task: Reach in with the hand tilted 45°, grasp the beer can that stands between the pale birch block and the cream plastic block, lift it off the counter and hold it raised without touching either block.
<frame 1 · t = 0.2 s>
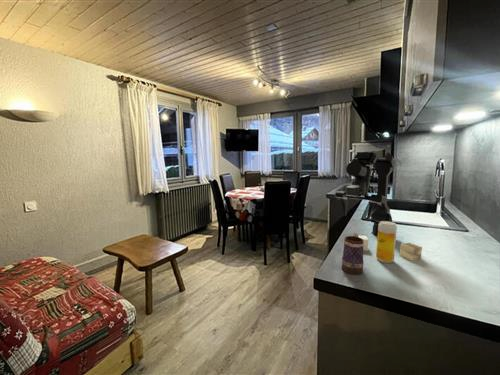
hand: (355, 217, 95), 15 cm above the counter, tool pointing down, fingers open, 9 cm apart
cream plastic block: (360, 248, 102), on the counter
mug: (352, 269, 83), on the counter
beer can: (384, 260, 90), on the counter
birch block: (410, 257, 93), on the counter
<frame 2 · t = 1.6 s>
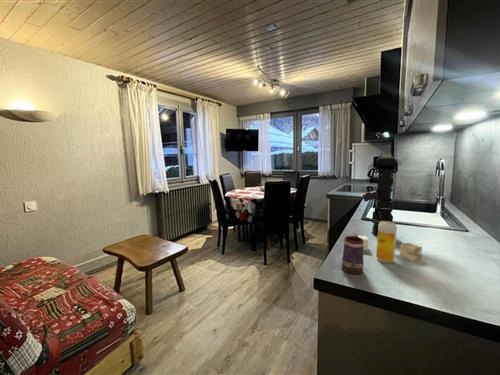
hand: (381, 220, 103), 12 cm above the counter, tool pointing down, fingers open, 9 cm apart
nothing on the counter moved.
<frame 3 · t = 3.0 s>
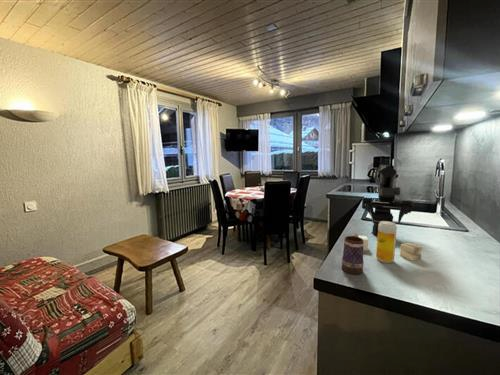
hand: (386, 221, 95), 14 cm above the counter, tool tilted 45°, fingers open, 9 cm apart
nothing on the counter moved.
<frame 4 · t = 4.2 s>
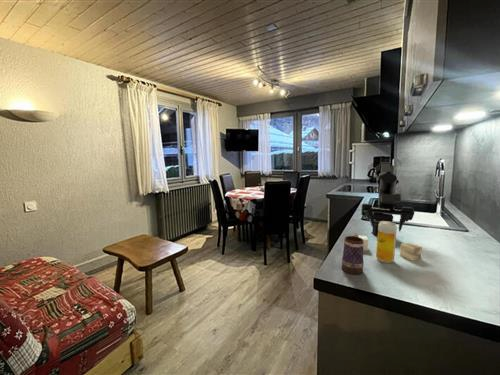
hand: (386, 229, 92), 11 cm above the counter, tool tilted 45°, fingers open, 9 cm apart
nothing on the counter moved.
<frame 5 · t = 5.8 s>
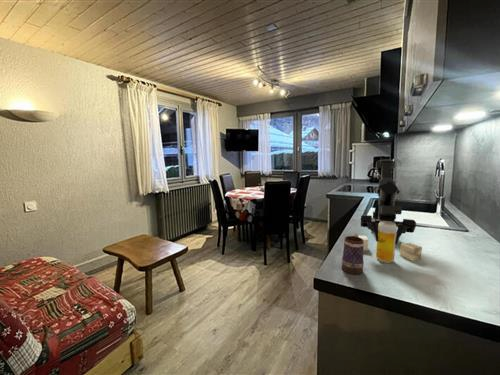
hand: (386, 242, 88), 8 cm above the counter, tool tilted 45°, fingers closed on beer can, 6 cm apart
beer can: (384, 260, 90), on the counter, touching gripper
everything else where it was.
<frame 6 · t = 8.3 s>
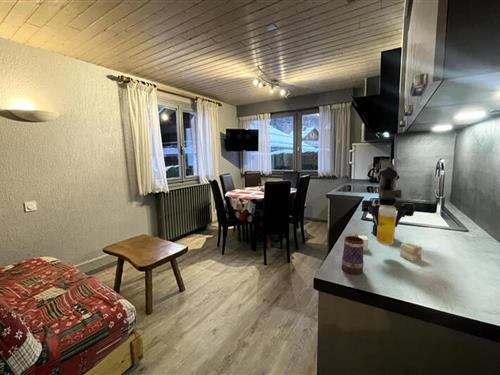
hand: (386, 225, 91), 13 cm above the counter, tool tilted 45°, fingers closed on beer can, 6 cm apart
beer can: (384, 243, 94), point 5 cm above the counter, touching gripper
everything else where it was.
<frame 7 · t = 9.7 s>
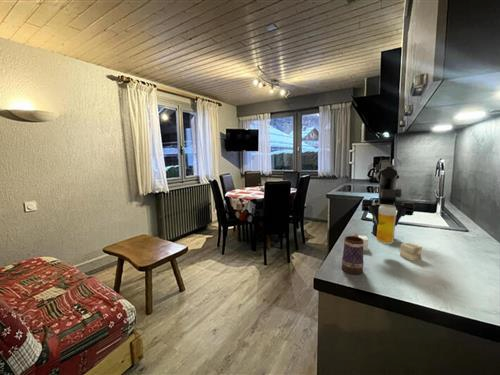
hand: (386, 224, 92), 13 cm above the counter, tool tilted 45°, fingers closed on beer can, 6 cm apart
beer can: (384, 242, 94), point 6 cm above the counter, touching gripper
everything else where it was.
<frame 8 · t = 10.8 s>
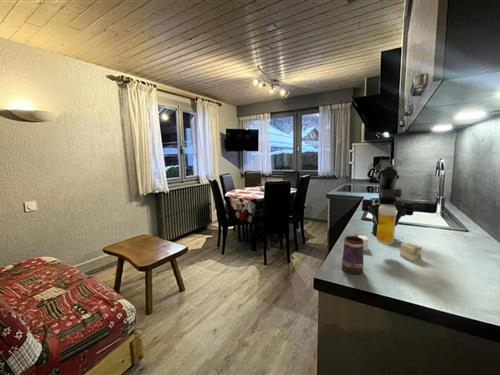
hand: (386, 224, 92), 13 cm above the counter, tool tilted 45°, fingers closed on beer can, 6 cm apart
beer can: (384, 242, 94), point 6 cm above the counter, touching gripper
everything else where it was.
at the end: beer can point 5.5 cm above the counter; birch block moved 0.1 cm from its start; cream plastic block moved 0.1 cm from its start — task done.
